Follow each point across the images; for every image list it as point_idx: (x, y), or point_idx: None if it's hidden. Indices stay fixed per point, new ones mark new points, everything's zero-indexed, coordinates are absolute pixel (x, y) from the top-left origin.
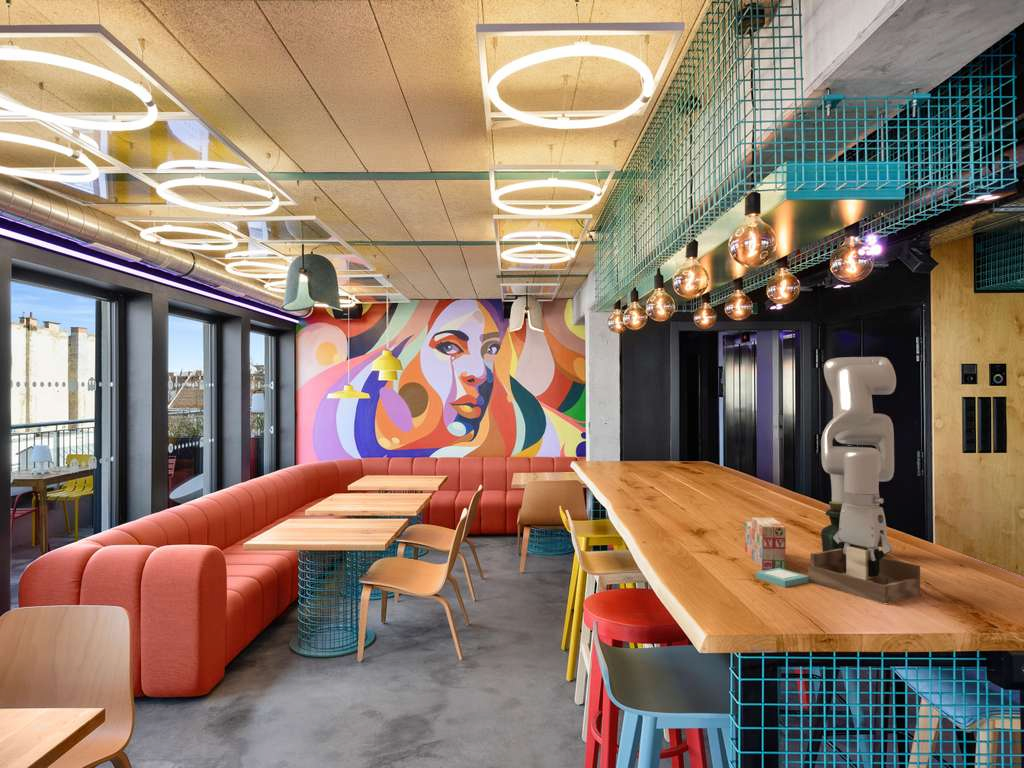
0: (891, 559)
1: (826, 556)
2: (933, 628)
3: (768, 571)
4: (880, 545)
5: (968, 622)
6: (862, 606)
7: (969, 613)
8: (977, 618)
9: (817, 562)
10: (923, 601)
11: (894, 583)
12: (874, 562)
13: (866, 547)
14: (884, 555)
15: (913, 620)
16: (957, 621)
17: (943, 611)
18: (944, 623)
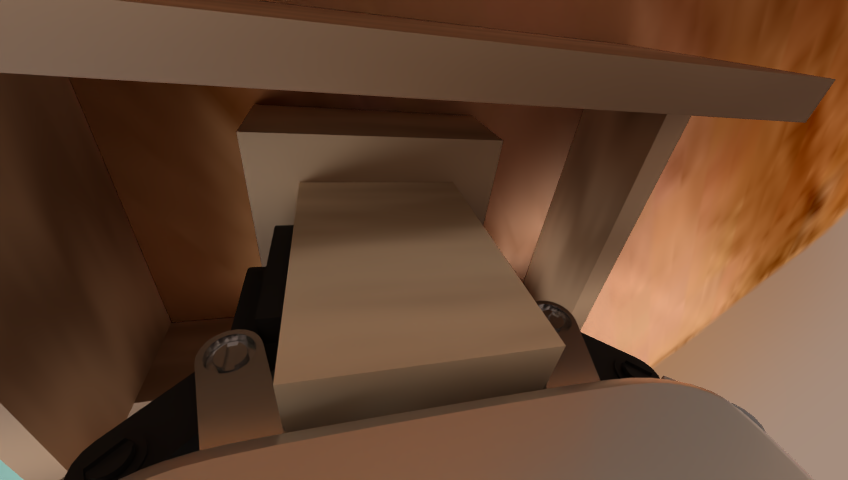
0: (587, 61)
1: (29, 360)
2: (659, 342)
3: (1, 464)
4: (632, 390)
5: (752, 236)
6: None
7: (787, 141)
8: (794, 175)
9: (107, 401)
10: None
11: (589, 294)
12: None
13: (444, 400)
14: (619, 359)
15: (618, 339)
16: (724, 255)
17: (701, 203)
18: (687, 296)
